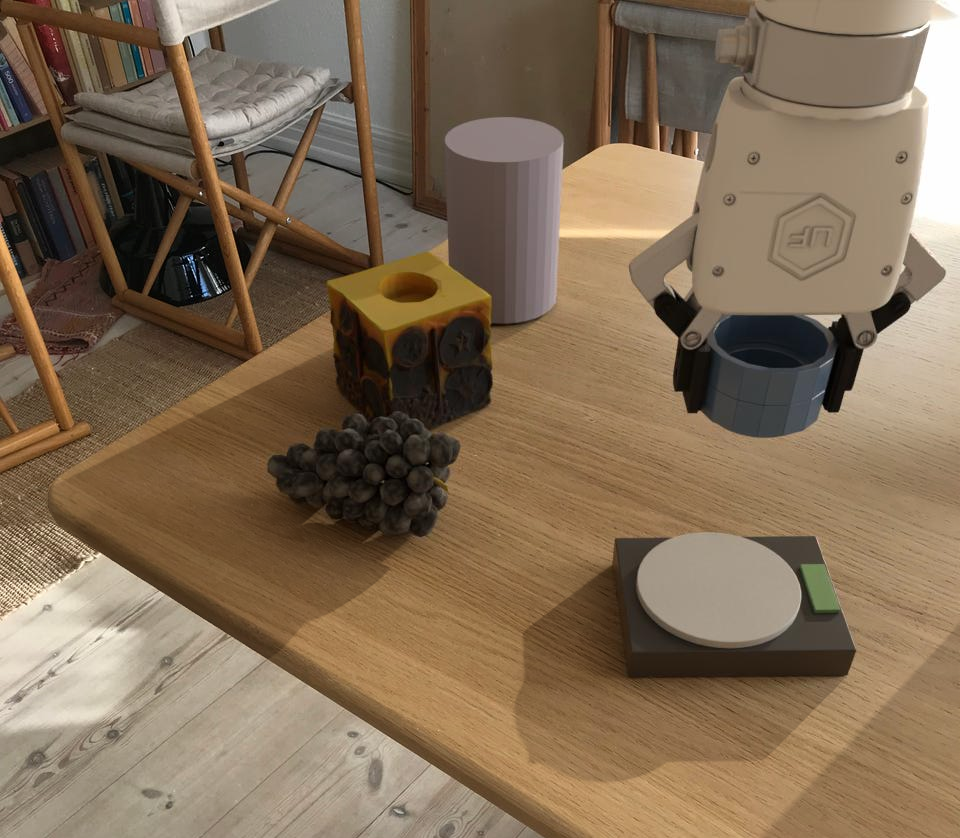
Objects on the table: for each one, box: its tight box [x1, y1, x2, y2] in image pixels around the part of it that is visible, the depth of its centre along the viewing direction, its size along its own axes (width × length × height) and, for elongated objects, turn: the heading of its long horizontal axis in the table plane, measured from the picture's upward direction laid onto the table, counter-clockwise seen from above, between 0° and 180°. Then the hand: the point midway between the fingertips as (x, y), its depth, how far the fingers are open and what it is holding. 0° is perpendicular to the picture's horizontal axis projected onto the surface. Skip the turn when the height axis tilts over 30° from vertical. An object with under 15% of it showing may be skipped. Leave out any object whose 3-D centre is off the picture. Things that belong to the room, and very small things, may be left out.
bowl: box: [700, 314, 838, 439], centre depth 58 cm, size 7×7×4 cm
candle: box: [325, 251, 494, 430], centre depth 85 cm, size 10×10×10 cm
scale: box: [611, 531, 857, 678], centre depth 69 cm, size 14×11×3 cm
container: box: [444, 116, 565, 326], centre depth 95 cm, size 10×10×15 cm
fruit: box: [266, 411, 462, 538], centre depth 76 cm, size 9×8×15 cm
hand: (758, 397), depth 59 cm, fingers closed on bowl, 7 cm apart
